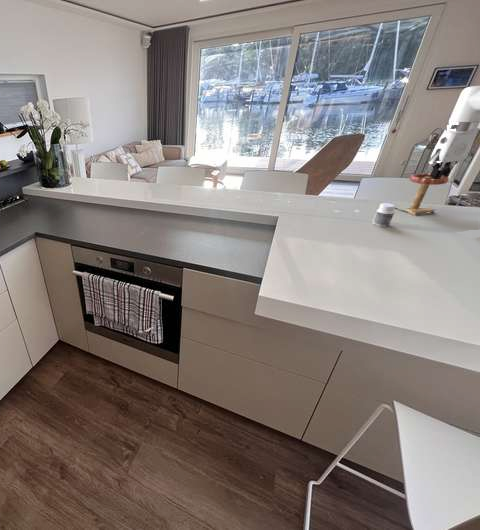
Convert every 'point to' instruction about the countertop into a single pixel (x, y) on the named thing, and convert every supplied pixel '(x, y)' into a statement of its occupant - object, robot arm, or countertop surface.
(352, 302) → the countertop surface
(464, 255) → the countertop surface
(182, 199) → the countertop surface
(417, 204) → the stand
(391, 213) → the pill bottle
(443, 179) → the ring
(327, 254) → the countertop surface
